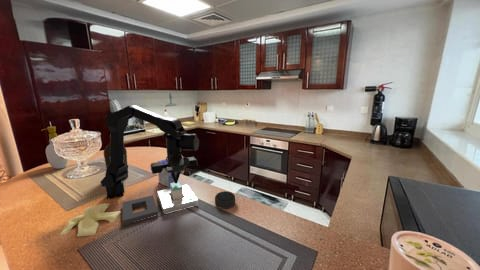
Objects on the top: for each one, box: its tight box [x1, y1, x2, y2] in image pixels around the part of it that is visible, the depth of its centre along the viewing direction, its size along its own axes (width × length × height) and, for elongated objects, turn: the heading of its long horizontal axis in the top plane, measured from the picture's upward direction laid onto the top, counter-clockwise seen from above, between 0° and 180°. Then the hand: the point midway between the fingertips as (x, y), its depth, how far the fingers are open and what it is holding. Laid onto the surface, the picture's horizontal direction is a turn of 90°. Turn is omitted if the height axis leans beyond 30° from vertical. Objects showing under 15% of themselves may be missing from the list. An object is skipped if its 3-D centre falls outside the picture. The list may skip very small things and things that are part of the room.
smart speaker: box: [214, 190, 236, 209], centre depth 87 cm, size 9×9×4 cm
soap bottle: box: [40, 126, 68, 170], centre depth 122 cm, size 14×9×26 cm, turn 67°
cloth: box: [60, 202, 122, 237], centre depth 74 cm, size 22×19×6 cm
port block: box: [156, 184, 199, 215], centre depth 88 cm, size 14×16×3 cm
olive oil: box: [103, 134, 129, 180], centre depth 108 cm, size 11×11×25 cm
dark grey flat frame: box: [121, 195, 159, 226], centre depth 81 cm, size 12×14×2 cm
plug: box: [169, 181, 183, 201], centre depth 87 cm, size 4×6×8 cm, turn 30°
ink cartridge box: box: [157, 157, 174, 188], centre depth 104 cm, size 10×6×14 cm, turn 53°
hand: (175, 183), depth 86 cm, fingers closed
